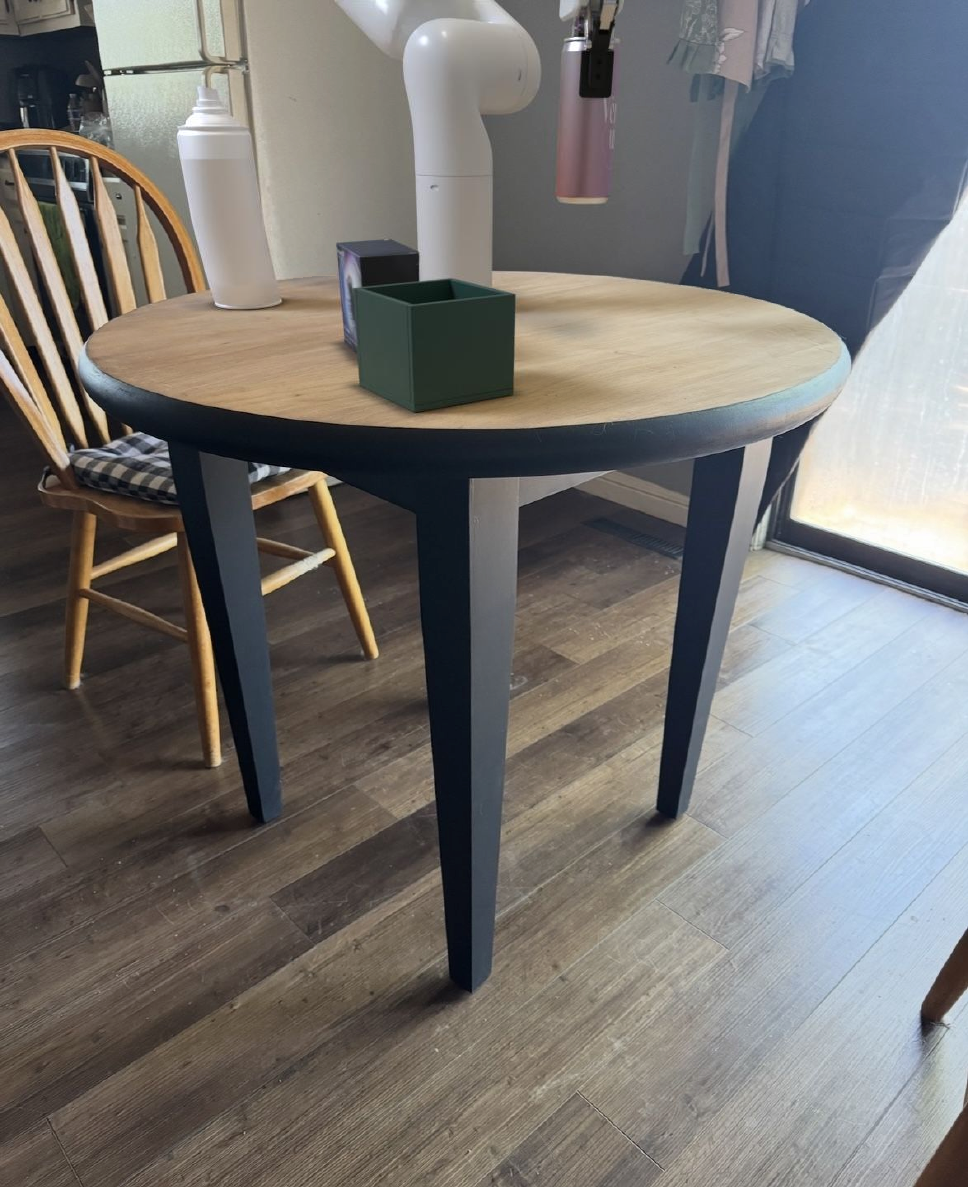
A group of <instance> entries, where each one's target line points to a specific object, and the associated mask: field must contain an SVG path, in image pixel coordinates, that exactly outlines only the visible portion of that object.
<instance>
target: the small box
mask: <svg viewBox="0 0 968 1187" xmlns="http://www.w3.org/2000/svg"><path fill="white" fill-rule="evenodd" d="M335 246H336V258H337V268H338V269H337V270H338V280H339V290H340V291H339V294H340V303H341V317H342V327H343V337H344V338H343V339H344V343H345V344H346V345H347V346H348V347H349V348H350V349H351V350H352V351H353V352H354V353H355V354H356V355H357V341H356V325H355V310H354V294H353V288H357V287H367V286H377V285H387V284H397V283H407V282H417V281H419V280H420V279H419V262H420V260H419V259H420V256H419V252H418V250H416V249H415V248H412V247H409V246H408V245H405V244H404V243H403V244H402V243H400V242H398V241H396V240H394V239H392V238H384V239H382V238H381V239H371V240H355V241H343V242H336V243H335Z"/></svg>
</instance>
